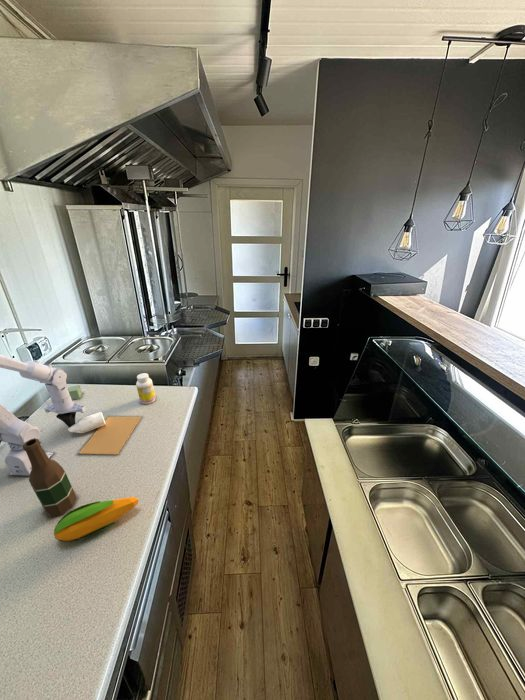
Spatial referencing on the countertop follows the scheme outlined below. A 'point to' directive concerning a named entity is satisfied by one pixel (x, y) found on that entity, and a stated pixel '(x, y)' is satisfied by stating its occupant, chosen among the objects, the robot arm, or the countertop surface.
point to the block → (75, 392)
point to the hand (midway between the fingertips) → (72, 426)
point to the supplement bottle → (145, 388)
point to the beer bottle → (49, 480)
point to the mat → (111, 436)
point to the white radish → (88, 423)
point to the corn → (92, 518)
